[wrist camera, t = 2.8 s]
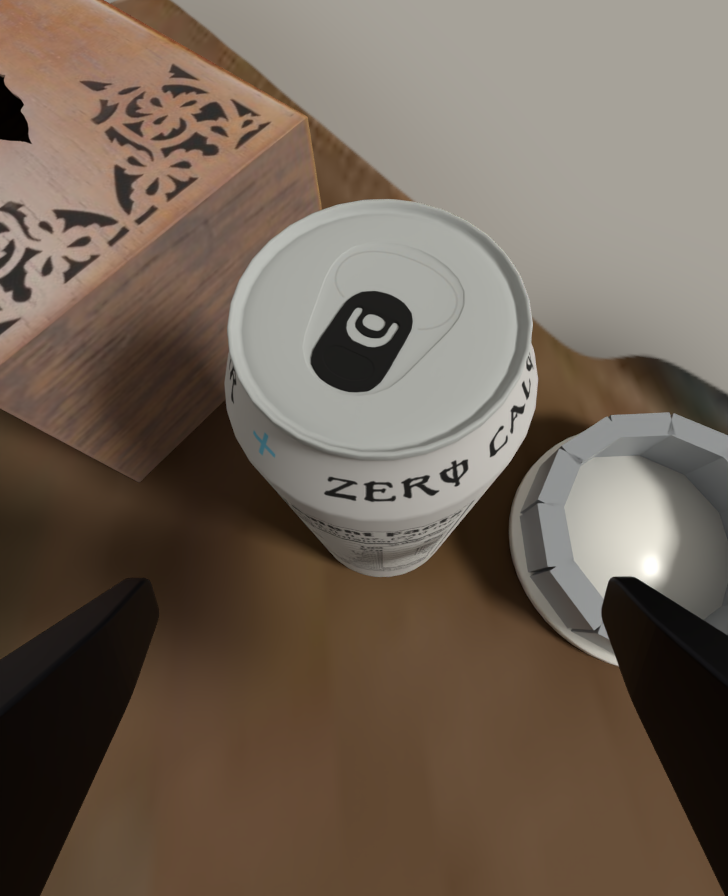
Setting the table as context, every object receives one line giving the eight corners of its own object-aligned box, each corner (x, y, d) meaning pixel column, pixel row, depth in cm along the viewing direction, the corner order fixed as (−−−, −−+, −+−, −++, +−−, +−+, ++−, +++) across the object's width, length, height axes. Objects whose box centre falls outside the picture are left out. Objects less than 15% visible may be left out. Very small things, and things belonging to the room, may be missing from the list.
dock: (619, 726, 18) (668, 749, 15) (462, 506, 21) (476, 488, 18) (805, 581, 19) (885, 575, 16) (632, 397, 23) (671, 363, 20)
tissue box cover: (-113, 234, 29) (-349, 53, 20) (68, 110, 32) (-60, -94, 23) (141, 484, 23) (-33, 391, 13) (335, 296, 26) (307, 116, 17)
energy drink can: (468, 486, 22) (627, 245, 7) (410, 604, 20) (474, 581, 6) (357, 431, 23) (312, 134, 9) (293, 538, 21) (110, 385, 7)
